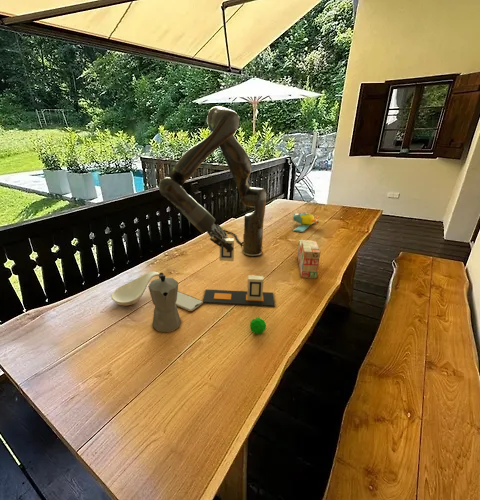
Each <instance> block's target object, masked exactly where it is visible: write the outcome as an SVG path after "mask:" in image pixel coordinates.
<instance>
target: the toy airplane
mask: <svg viewBox="0 0 480 500" xmlns="http://www.w3.org/2000/svg"><path fill="white" fill-rule="evenodd" d="M319 218H320V216H317V217H316V218H315V216H314V215H313V214H311V213H310V212H302V213H301V212H300V213H294V214H293V216H292V221H293V222H296V223H298V224H300V225H298V226H297V227H295V228H294V229H293V230H292V232H296V233H304V232H305V231H306V230H307V229H308V228H309V227H310V226H312V225H313V224H315V225H317V223H318V222H319Z"/></svg>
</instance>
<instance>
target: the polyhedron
mask: <svg viewBox="0 0 480 500" xmlns="http://www.w3.org/2000/svg"><path fill="white" fill-rule="evenodd" d="M249 329H250V330H251V332H252V333H254V334H255V335H259V334H263V333H264V332H265V331H266V329H267V324H266V321H265V320H264V319H263V318H261V317H256V318H255V317H254V318H252V320H251V321H250V322H249Z"/></svg>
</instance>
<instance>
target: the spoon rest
mask: <svg viewBox="0 0 480 500" xmlns="http://www.w3.org/2000/svg"><path fill="white" fill-rule="evenodd" d="M159 274H160V272H158V271H148V272H146V273H145V274H143V275H141V276H139V277H137V278H135V279H133V280H130V281H129V282H127V283H125V284H123V285H120V286H119V287H118V288H116V289H115V290H113V292H112V293H111V296H110V297H111V300H112V301H113V302H114V303H116V304H117V305H120V306H131V305H134V304H136V303H137V302H139V301H140V300H141V299H142V297H143V295H144V293H145V292H146V289H147V287H148V286H149V284H150V282H151V280H152V279H153V278H154V277H159Z"/></svg>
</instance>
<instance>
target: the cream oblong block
mask: <svg viewBox="0 0 480 500" xmlns="http://www.w3.org/2000/svg"><path fill="white" fill-rule="evenodd" d="M224 239H225V240H226V241H227V242H228V243H229V244H230V245H231V246H232V247H233V250H232V251H231V252H228V251H227V250H226V249H225V248H224V247H220V246H219V261H220V262H234V260H235V238H234V237H231V238H230V237H228V238H224ZM220 242H221V241H220Z"/></svg>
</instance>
